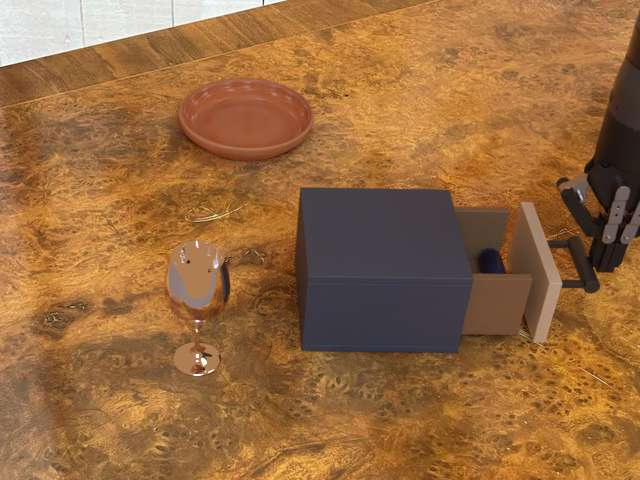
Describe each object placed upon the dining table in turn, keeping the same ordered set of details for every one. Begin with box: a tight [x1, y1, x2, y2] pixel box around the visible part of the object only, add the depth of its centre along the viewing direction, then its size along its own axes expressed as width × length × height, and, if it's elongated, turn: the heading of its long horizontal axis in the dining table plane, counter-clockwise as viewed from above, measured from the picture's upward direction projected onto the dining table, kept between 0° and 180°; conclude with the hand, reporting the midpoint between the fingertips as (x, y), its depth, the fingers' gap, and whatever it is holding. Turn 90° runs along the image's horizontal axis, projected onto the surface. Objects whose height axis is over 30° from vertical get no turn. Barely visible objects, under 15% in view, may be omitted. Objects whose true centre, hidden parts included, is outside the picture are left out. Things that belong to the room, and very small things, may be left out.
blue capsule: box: [479, 249, 508, 274], centre depth 103 cm, size 9×2×2 cm, turn 1°
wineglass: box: [163, 240, 231, 377], centre depth 94 cm, size 6×6×12 cm
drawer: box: [454, 201, 601, 344], centre depth 102 cm, size 18×12×7 cm
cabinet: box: [294, 186, 474, 354], centre depth 102 cm, size 15×14×9 cm
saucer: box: [178, 77, 315, 162], centre depth 127 cm, size 16×16×3 cm
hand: (602, 267), depth 102 cm, fingers closed
